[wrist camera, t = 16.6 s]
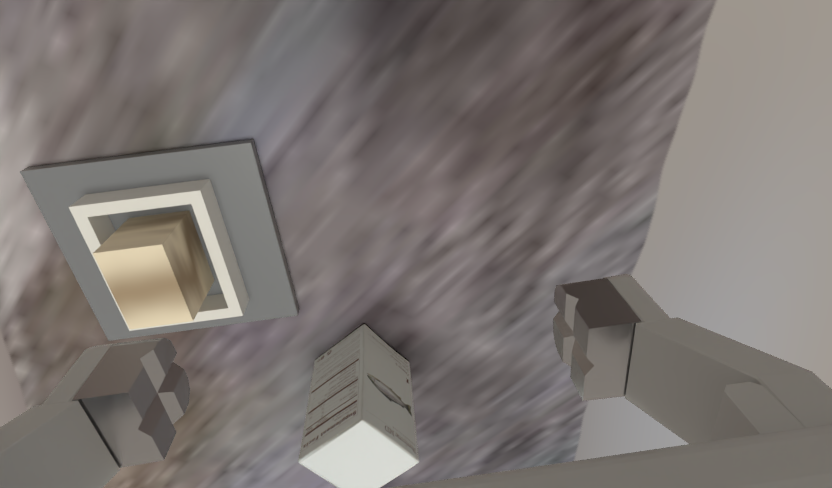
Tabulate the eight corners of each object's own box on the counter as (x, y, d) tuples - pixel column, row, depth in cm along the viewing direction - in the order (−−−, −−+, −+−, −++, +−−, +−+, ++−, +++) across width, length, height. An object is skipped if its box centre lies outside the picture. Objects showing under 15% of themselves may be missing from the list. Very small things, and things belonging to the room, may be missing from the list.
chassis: (27, 167, 39) (-2, 183, 36) (253, 139, 39) (243, 152, 36) (113, 333, 47) (95, 358, 44) (299, 309, 47) (294, 331, 44)
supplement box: (411, 361, 52) (423, 464, 40) (359, 396, 53) (357, 504, 42) (364, 320, 49) (363, 419, 37) (311, 359, 50) (295, 465, 39)
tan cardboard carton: (128, 218, 40) (92, 253, 35) (189, 210, 40) (162, 244, 35) (158, 287, 44) (129, 329, 38) (214, 280, 44) (193, 321, 38)
